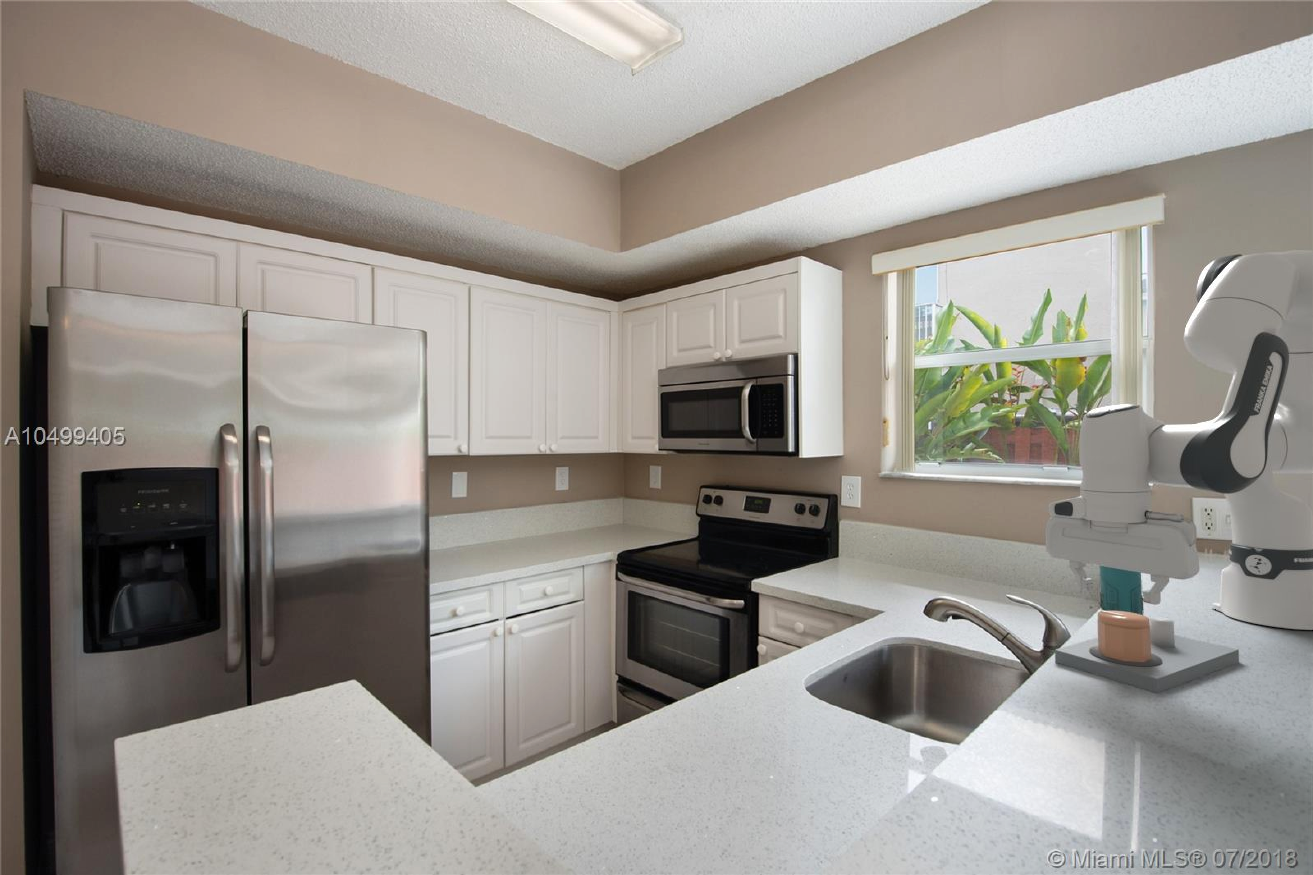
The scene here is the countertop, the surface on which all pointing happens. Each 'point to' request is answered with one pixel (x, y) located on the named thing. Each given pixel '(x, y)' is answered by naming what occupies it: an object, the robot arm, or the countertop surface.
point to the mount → (1153, 659)
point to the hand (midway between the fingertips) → (1117, 596)
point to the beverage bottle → (1121, 590)
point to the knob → (1124, 636)
